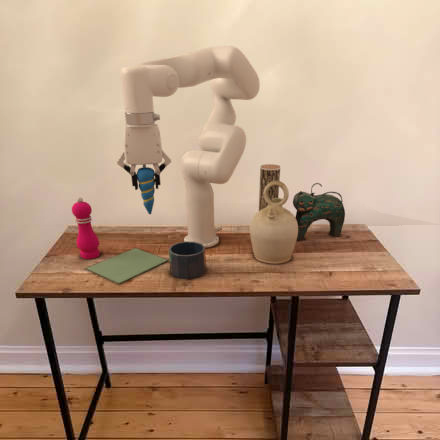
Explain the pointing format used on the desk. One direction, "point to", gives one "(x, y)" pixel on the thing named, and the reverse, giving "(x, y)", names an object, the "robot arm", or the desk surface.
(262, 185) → the wooden log
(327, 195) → the ceramic cat
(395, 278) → the desk surface
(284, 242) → the jug
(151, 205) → the ornament
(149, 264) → the mat
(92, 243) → the pepper mill
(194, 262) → the crock
